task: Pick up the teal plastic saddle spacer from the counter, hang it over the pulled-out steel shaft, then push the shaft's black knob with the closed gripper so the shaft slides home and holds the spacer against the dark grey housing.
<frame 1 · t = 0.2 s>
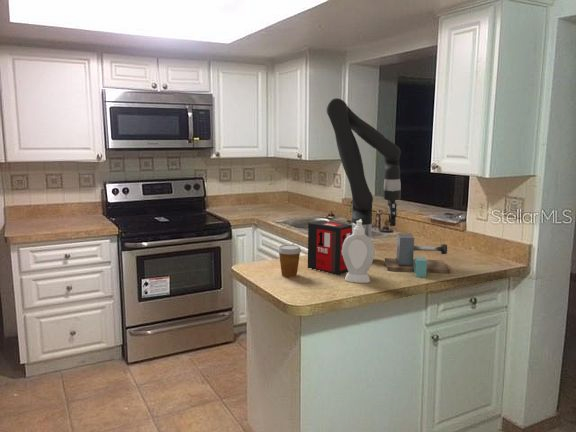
hand: (392, 224, 220), 17 cm above the worktop, tool pointing down, fingers open, 8 cm apart
soap bottle: (357, 280, 192), on the worktop
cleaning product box: (329, 270, 207), on the worktop
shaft: (427, 248, 211), point 9 cm above the worktop, slide at 8.0 cm
base board: (415, 266, 213), on the worktop
disposable coffee cup: (289, 275, 198), on the worktop
spacer: (420, 275, 200), on the worktop
housing: (404, 266, 213), resting on base board
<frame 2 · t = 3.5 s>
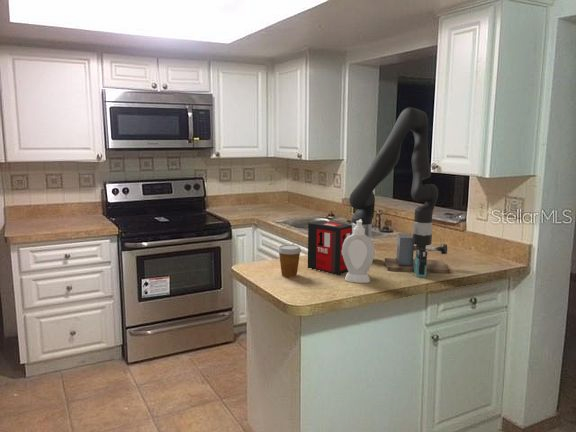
hand: (420, 272, 200), 1 cm above the worktop, tool pointing down, fingers closed on spacer, 5 cm apart
spacer: (420, 275, 200), on the worktop, touching gripper
everything else where it was.
when the fingers open (7 cm above the worktop, at t = 9.2 s): spacer drops 1 cm, resting on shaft.
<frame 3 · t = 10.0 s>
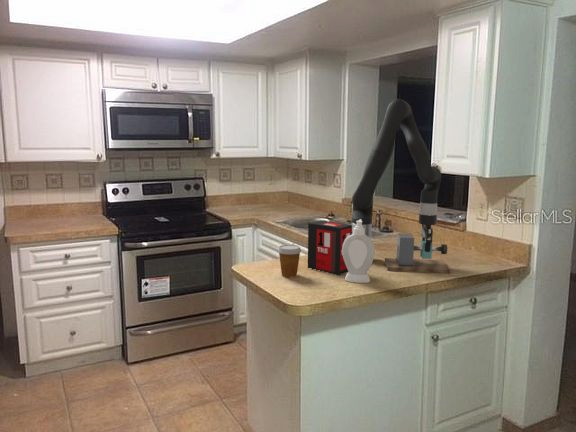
hand: (425, 249, 211), 8 cm above the worktop, tool pointing down, fingers open, 8 cm apart
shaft: (427, 248, 211), point 9 cm above the worktop, slide at 8.0 cm, touching spacer
spacer: (425, 257, 211), point 5 cm above the worktop, touching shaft
everything else where it was.
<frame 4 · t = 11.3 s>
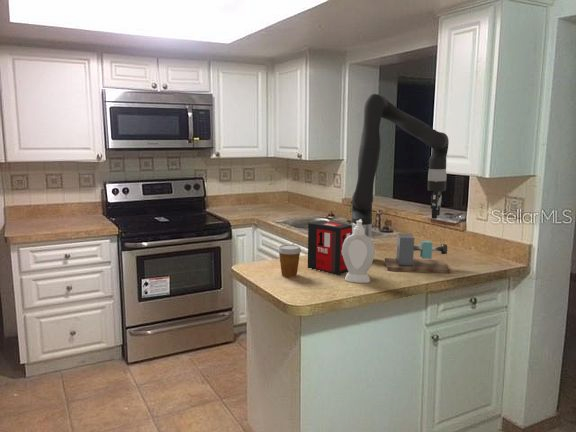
hand: (435, 216, 208), 23 cm above the worktop, tool pointing down, fingers open, 8 cm apart
nothing on the worktop moved.
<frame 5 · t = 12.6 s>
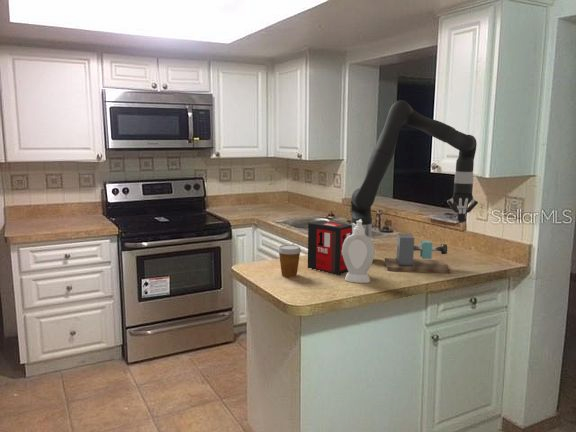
hand: (460, 222, 207), 21 cm above the worktop, tool pointing down, fingers closed
nothing on the worktop moved.
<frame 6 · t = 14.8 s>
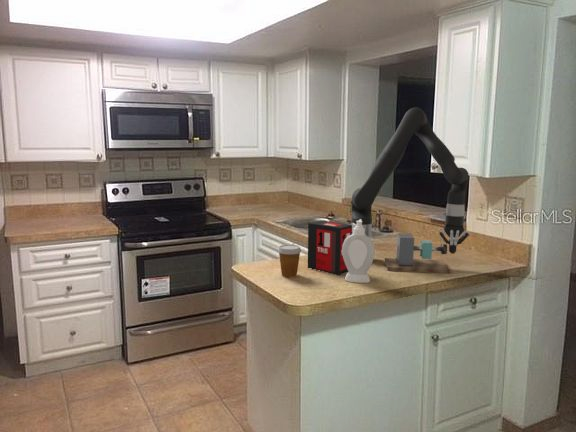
hand: (452, 253, 210), 7 cm above the worktop, tool pointing down, fingers closed
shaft: (427, 248, 211), point 9 cm above the worktop, slide at 8.0 cm, touching gripper, spacer
everything else where it was.
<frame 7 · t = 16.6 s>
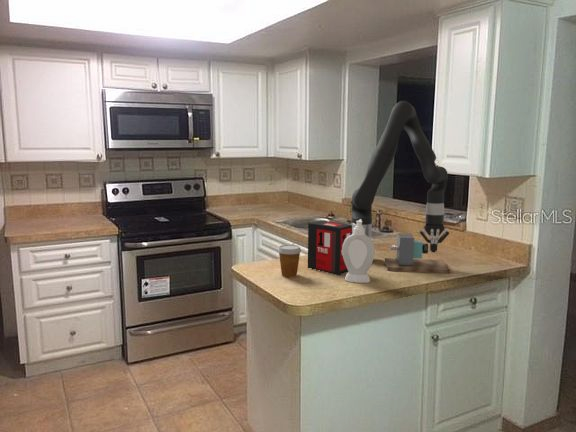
hand: (433, 252, 210), 7 cm above the worktop, tool pointing down, fingers closed
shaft: (409, 247, 212), point 9 cm above the worktop, slide at -0.1 cm, touching gripper, spacer
spacer: (416, 257, 212), point 4 cm above the worktop, touching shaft
everything else where it was.
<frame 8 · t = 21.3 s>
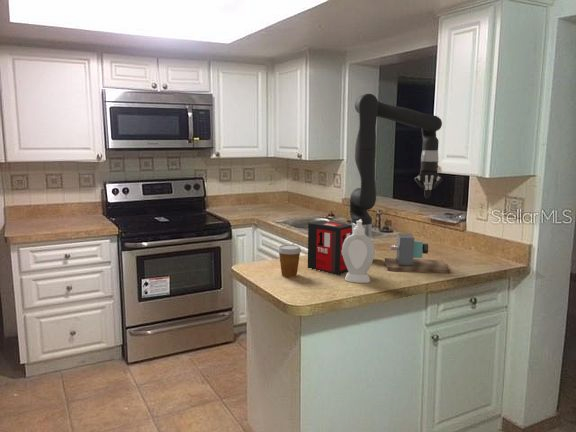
hand: (427, 197, 223), 29 cm above the worktop, tool pointing down, fingers closed
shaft: (409, 247, 212), point 9 cm above the worktop, slide at 0.0 cm, touching spacer
spacer: (416, 257, 211), point 5 cm above the worktop, tilted 9°, touching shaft
everything else where it was.
at the end: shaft slide at 0.0 cm; spacer 0.5 cm from the target spot, point 4.5 cm above the worktop; spacer touching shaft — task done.
